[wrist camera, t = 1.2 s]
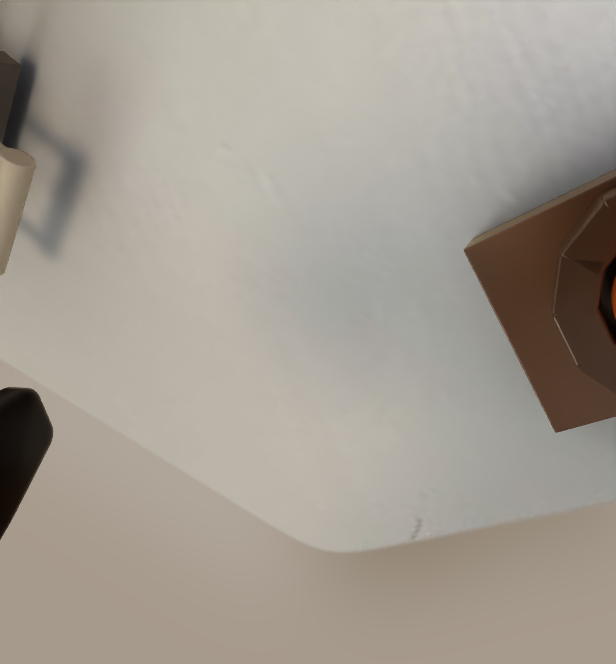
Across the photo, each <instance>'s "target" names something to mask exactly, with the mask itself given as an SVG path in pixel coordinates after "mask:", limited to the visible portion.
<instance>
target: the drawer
mask: <svg viewBox="0 0 616 664" xmlns="http://www.w3.org/2000/svg"><path fill="white" fill-rule="evenodd" d="M20 70H21V65H20V64H19V63H18V62H16V61H15V60H14V59H13V58H11V57H10V56H9V55H8V54H6V53H5V52H4V51H0V276H1V275H2V274H4V272H5V270H6V266H7V263H8V259H9V256H10V253H11V249H12V246H13V242H14V239H15V235H16V232H17V229H18V225H19V222H20V218H21V215H22V211H23V208H24V205H25V201H26V198H27V194H28V191H29V187H30V184H31V181H32V177H33V174H34V170H35V167H36V161H35V159H34V158H33V157H32V156H30V155H29V154H27V153H25V152H23V151H21V150H18V149H14V148H7V147H5V146H4V145H3V144H2V142H3V138H4V134H5V130H6V126H7V122H8V118H9V114H10V110H11V106H12V102H13V98H14V94H15V90H16V86H17V82H18V78H19V74H20Z"/></svg>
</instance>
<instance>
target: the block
mask: <svg viewBox="0 0 616 664" xmlns="http://www.w3.org/2000/svg"><path fill="white" fill-rule="evenodd" d="M464 252H465V254H466V256H467V258H468V260H469V262H470V264H471V266H472V268H473V270H474V272H475V274H476V276H477V278H478V280H479V282H480V284H481V286H482V288H483V290H484V292H485V294H486V296H487V298H488V300H489V302H490V304H491V306H492V308H493V310H494V312H495V314H496V316H497V318H498V320H499V322H500V324H501V326H502V328H503V330H504V332H505V334H506V336H507V338H508V340H509V341H510V343H511V345H512V347H513V349H514V351H515V353H516V355H517V357H518V359H519V361H520V363H521V365H522V367H523V369H524V371H525V373H526V375H527V377H528V379H529V381H530V383H531V385H532V387H533V389H534V391H535V393H536V395H537V397H538V399H539V401H540V403H541V405H542V407H543V409H544V411H545V413H546V415H547V417H548V419H549V421H550V423H551V425H552V427H553V429H554V431H555V432H556V433H557V432H561V431H564V430H568V429H572V428H575V427H579V426H583V425H586V424H590V423H593V422H597V421H601V420H604V419H608V418H612V417H615V416H616V319H615V316H614V312H613V308H612V301H611V293H612V286H613V282H614V278H615V276H616V169H615V170H613V171H611V172H609V173H607V174H604V175H602V176H600V177H598V178H596V179H594V180H592V181H590V182H588V183H586V184H584V185H582V186H580V187H578V188H576V189H574V190H572V191H570V192H568V193H565V194H563V195H561V196H559V197H557V198H555V199H553V200H551V201H549V202H547V203H545V204H543V205H541V206H539V207H537V208H535V209H533V210H531V211H529V212H527V213H524V214H522V215H520V216H518V217H516V218H514V219H512V220H510V221H508V222H506V223H504V224H502V225H500V226H498V227H496V228H494V229H492V230H490V231H488V232H485V233H483V234H481V235H479V236H477V237H475V238H473V240H472V241H471V242H470V243H469V244H468V245H467V247H466V248H465V249H464Z"/></svg>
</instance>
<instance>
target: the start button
mask: <svg viewBox="0 0 616 664" xmlns="http://www.w3.org/2000/svg"><path fill="white" fill-rule="evenodd" d="M611 301H612V308H613V312H614V316H615V319H616V276H615V278H614V282H613V286H612V293H611Z"/></svg>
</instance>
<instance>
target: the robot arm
mask: <svg viewBox="0 0 616 664" xmlns="http://www.w3.org/2000/svg"><path fill="white" fill-rule="evenodd" d="M52 438H53V427H52V424H51V422H50V420H49V417H48V415H47V413H46V410H45V408H44V406H43V403H42V401H41V399H40V397H39V395H38V393H37V392H35V390H33V389H30V388H20V387H8V388H4V389H2V390H0V539H1V538H2V536H3V534H4V533H5V531H6V529H7V528H8V526H9V524H10V522H11V520H12V518H13V517H14V515H15V513H16V511H17V509H18V507H19V505H20V503H21V501H22V499H23V497H24V495H25V493H26V491H27V489H28V487H29V485H30V483H31V481H32V479H33V477H34V475H35V473H36V472H37V470H38V468H39V466H40V464H41V462H42V460H43V458H44V456H45V454H46V452H47V450H48V448H49V446H50V444H51V442H52Z"/></svg>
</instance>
